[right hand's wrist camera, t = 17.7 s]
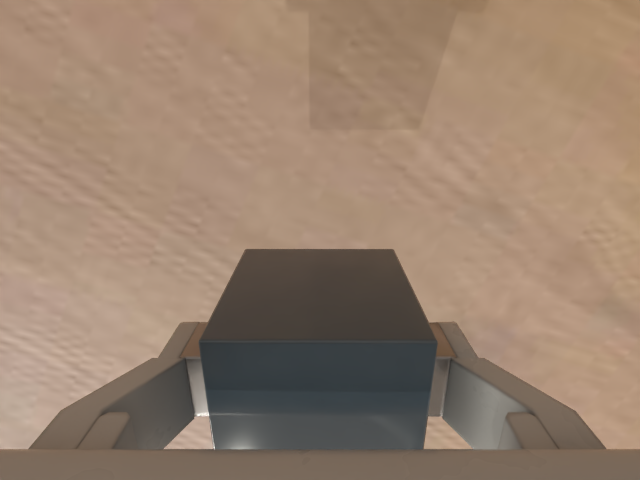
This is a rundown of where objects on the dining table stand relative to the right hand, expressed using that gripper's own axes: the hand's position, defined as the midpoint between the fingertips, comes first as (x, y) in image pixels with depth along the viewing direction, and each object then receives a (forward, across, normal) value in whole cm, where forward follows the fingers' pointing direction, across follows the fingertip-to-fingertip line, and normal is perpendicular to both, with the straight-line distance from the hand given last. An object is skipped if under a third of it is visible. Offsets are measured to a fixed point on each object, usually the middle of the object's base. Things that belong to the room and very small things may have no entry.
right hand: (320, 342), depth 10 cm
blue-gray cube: (+2, 0, 0) cm, 2 cm away
